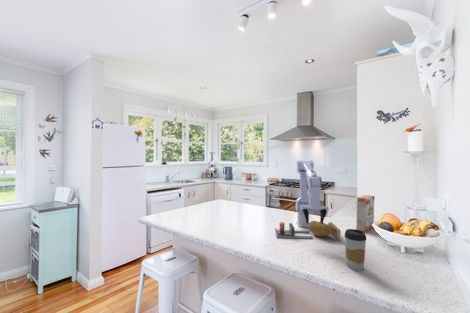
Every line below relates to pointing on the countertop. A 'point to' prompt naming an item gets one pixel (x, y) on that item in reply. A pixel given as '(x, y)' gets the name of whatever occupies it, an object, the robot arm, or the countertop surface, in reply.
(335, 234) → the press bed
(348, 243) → the coffee cup
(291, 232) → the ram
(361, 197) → the cracker box
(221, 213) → the countertop surface
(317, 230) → the potato
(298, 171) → the robot arm
